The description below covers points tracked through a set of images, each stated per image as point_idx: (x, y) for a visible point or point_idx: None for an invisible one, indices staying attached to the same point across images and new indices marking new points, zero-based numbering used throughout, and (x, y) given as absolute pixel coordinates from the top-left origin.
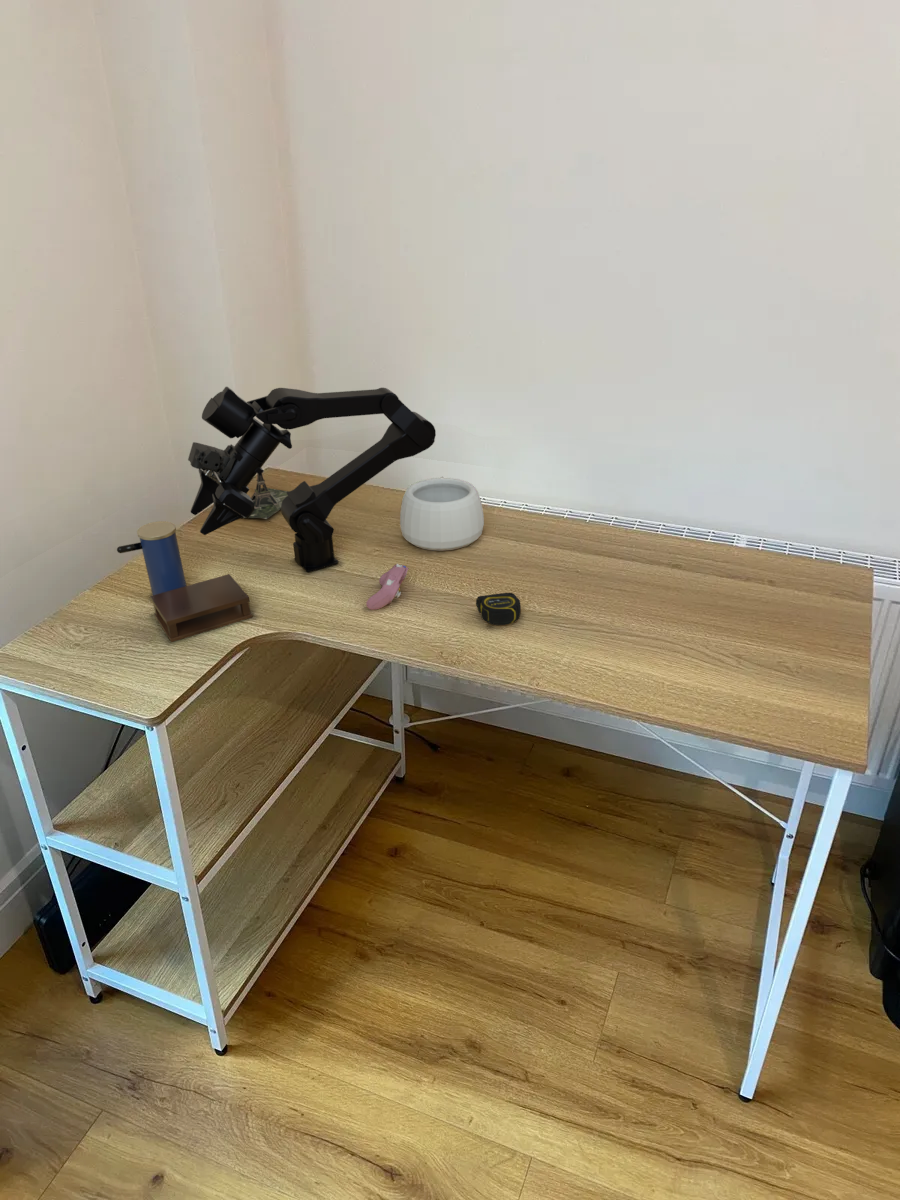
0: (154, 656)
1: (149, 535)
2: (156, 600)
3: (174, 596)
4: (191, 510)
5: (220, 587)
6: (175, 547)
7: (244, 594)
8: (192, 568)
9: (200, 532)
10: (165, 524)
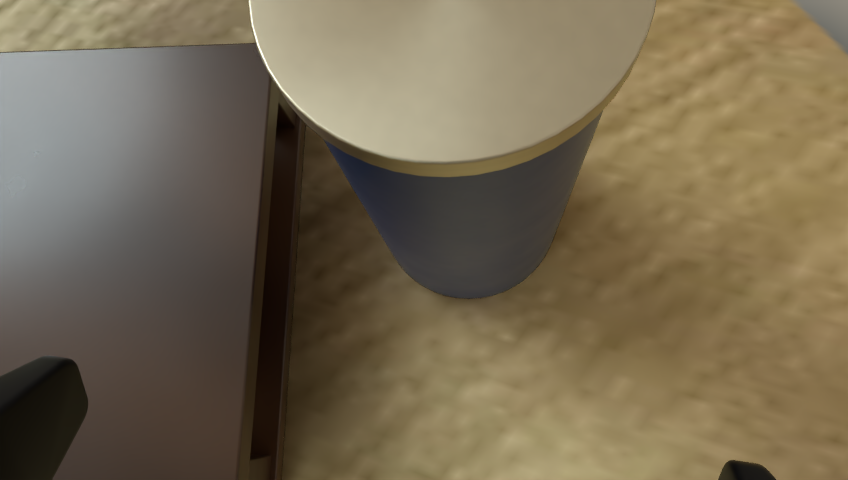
0: (9, 31)
1: None
2: (206, 59)
3: (183, 145)
4: (737, 475)
5: (103, 400)
6: (349, 173)
7: None
8: (718, 408)
9: (54, 357)
10: (509, 77)
